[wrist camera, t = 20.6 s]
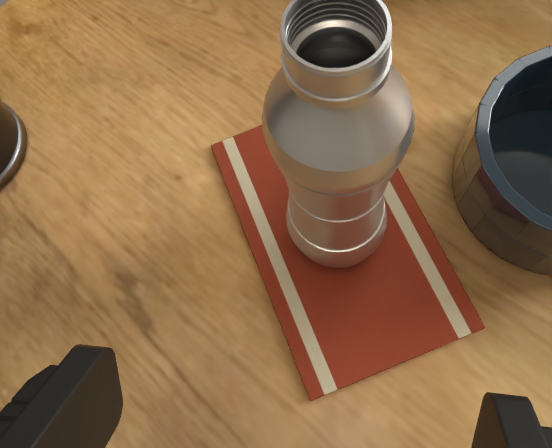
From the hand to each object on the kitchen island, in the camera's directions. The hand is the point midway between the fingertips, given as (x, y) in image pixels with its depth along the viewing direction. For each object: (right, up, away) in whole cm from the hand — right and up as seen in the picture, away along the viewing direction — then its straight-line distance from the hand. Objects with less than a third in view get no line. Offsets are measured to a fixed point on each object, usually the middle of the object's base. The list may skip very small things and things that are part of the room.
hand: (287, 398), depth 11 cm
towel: (+4, +3, +24) cm, 25 cm away
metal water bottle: (+4, +3, +24) cm, 24 cm away
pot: (+19, +7, +23) cm, 31 cm away
